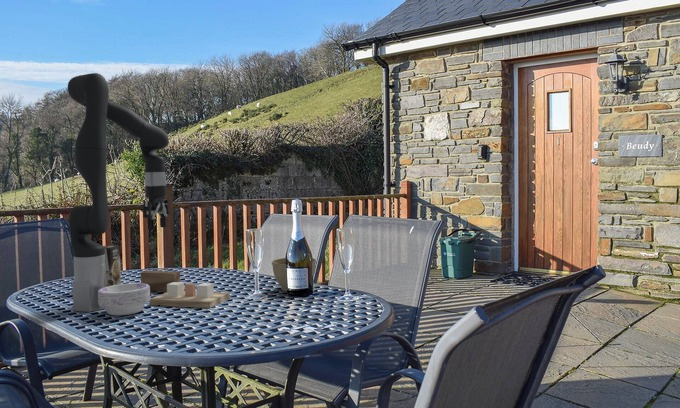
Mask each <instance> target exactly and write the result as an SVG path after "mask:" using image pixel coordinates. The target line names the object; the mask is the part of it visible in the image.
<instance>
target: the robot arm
mask: <svg viewBox="0 0 680 408" xmlns="http://www.w3.org/2000/svg"><path fill="white" fill-rule="evenodd" d="M109 91H110V89H109V84H108V81H107V79H106V78H105V77H104V76H103V75H102V74H101V73H98V72H97V73H96V72H93V73H92V72H91V73H86V74H80V75H76V76H73V77H71V78H70V79H69V81H68V83H67V92H68V94H69V96H70V97H71V99H72V100H73V101H75V102H76V103H78V104H79V105H81V106H84V107H85V116H84V120H83V123H82V125H81V128H80V130H79V131H78V134H77V136H76V139H75V143H74V163H75V166H76V169H77V171H78V173H79V174H80V176H81V177H82V178H83V180H84V182H85V183H86V184H87V186H88V189H89V191H90V195H91V201H92V205H75V206H73V207H72V208H71V210H70V212H69V216H68V227H69V235H70V246H71V250H72V253H73V254H72V256H73V276H74V277H73V281H72V283H71V286H72V287H71V288H72V305H73V306H72V307H73V311H74V312H85V313H91V312H94V311H100V310H103V309H104V310H105V308H103V307H100V306H99V304H98V290H100V289H102V288H104V287H106V272H105V248H104V246H105V245H102V244H100V243H98V242H95V241H94V240H92V239H91V238H90V235H104V234H105V233H106V232H107V231H108V228H109V225H110V214H109V213H110V211H109V202H108V200H109V199H108V190H107V119H108V120H109V121H111V122H113V123H114V124H115V125H117V126H119V127H120V128H121V129H122V130H124V131H125V132H127V133H128V134H129V135H131V136H132V137H134V138H136V139H139V142H138V143H139V146H140V151H141V154H142V157H143V160H144V173H145V175H144V192H145V198H147V199H148V200H147V201H143V202H142V204H143V205H142V206H143V209H142V210H143V211H142V213H143V214H142V215H143V218H144V219H146V220H147V229H148V230H150V231H153V230H155V215H157V214H158V215H159V227H160V228H166V227H167V217H168V216H170V203H169V202H170V200H169V199H165V198H167V196H168V193H167V192H168V191H167V189H168V188H167V174H166V161H165V157H163V156H162V155H161V156H160V155H158V153H157V150H163V149H165V148H167V147H168V145H169V139H170V138H169V137H168V134H167V133H166V132H165V130H164V129H162V128H160V127H159V126H157V125H154V124H152V123H150V122H148V121H146V120H145V119H144V118H142V117H141V116H140V115H139V114H137V113H136V112H135V111H133V110H131V108H128V107H126V106H124V105H121V104H118V103H117V102H115V101H112V100H111V99H109V94H110V93H109Z"/></svg>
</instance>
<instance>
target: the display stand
mask: <svg viewBox="0 0 680 408" xmlns="http://www.w3.org/2000/svg"><path fill="white" fill-rule="evenodd" d="M230 293H231V292H222V291H221V292H219V291H214V283H209V282H208V283H207V282H206V283H205V282H204V283H203V282H202V283H199V284H197V285H196V283H185V282H181V281H180V282H172V283H169V284H167V292H163V293H162V294H159V295H156V296H154V297H150V301H149V306H158V305H160V307H164V306H165V307H177V308H179V307H180V308H181V307H182V308H198V309H199V308H201V309H212V308H213V307H216V306H217V305H220V304H222V303H224V302H226V301H228V300H229V299H231V295H230Z"/></svg>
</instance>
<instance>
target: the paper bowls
mask: <svg viewBox="0 0 680 408" xmlns="http://www.w3.org/2000/svg"><path fill="white" fill-rule="evenodd" d="M150 299H151V291H150V286H149V285H148V284H143V283H141V282H135V283H134V282H132V283H131V282H130V283H121V284H119V285H113V286H108V287H104V288H102V289H100V290H98V304H99V306H100V307H103V308H104V311H105V312H106V313H107V314H108V315H110V316H129V315H134V314H139V312H141V311H143V310H144V308H145V305H146V303H148V302H149V301H150ZM149 303H150V302H149Z"/></svg>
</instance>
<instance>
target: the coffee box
mask: <svg viewBox="0 0 680 408" xmlns="http://www.w3.org/2000/svg"><path fill="white" fill-rule="evenodd" d="M103 246H104V248H105V272H106V287H108V286H113V285H119V284H122V276H121V254H120V253H121V252H120V251H121V249H120V245H118V244H117V245H116V244H115V245H103Z"/></svg>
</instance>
